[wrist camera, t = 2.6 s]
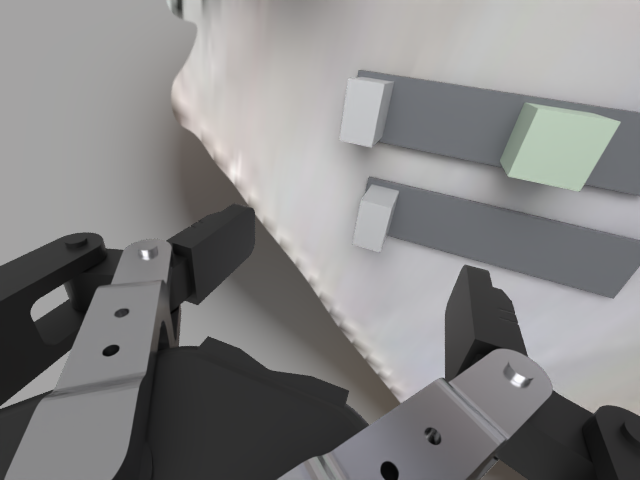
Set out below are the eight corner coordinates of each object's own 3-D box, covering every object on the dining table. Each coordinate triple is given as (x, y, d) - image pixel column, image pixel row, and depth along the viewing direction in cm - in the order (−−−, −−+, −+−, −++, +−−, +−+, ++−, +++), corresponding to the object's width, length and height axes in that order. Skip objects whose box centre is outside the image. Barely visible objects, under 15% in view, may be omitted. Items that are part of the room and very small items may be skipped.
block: (593, 113, 25) (621, 121, 21) (560, 173, 27) (579, 191, 23) (524, 102, 26) (538, 108, 22) (499, 161, 29) (507, 176, 25)
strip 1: (690, 120, 24) (751, 133, 19) (639, 193, 27) (680, 220, 22) (360, 69, 30) (343, 70, 25) (350, 134, 33) (332, 145, 28)
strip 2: (650, 243, 28) (690, 278, 23) (610, 293, 31) (638, 334, 26) (369, 176, 34) (356, 194, 30) (359, 224, 37) (346, 247, 33)
